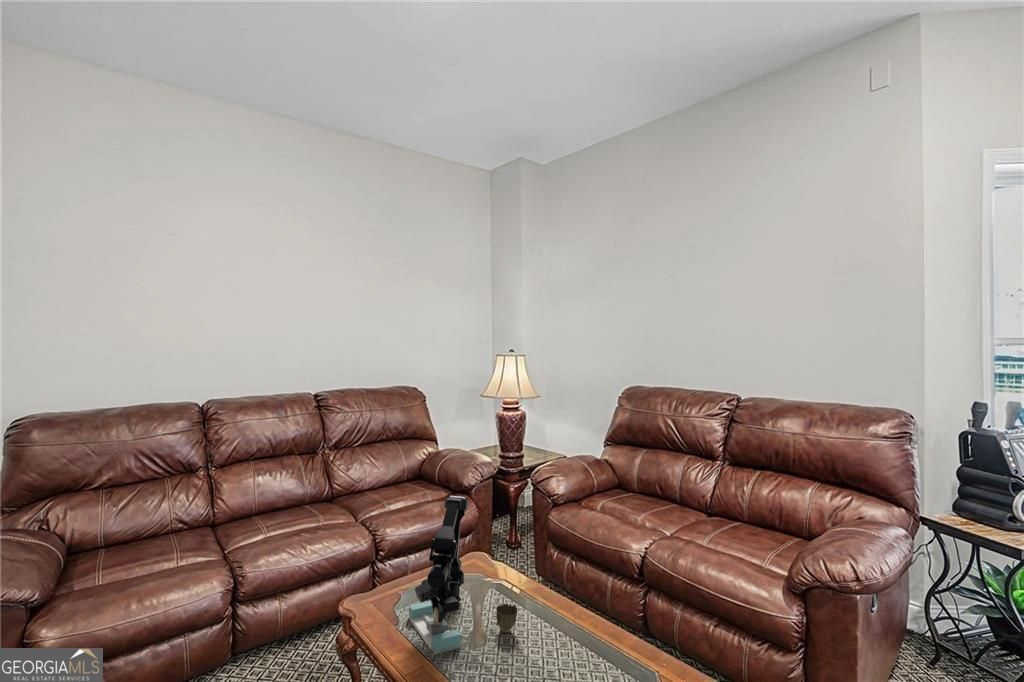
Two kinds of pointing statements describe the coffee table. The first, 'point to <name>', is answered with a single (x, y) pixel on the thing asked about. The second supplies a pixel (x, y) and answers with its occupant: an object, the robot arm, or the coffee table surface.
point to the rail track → (436, 643)
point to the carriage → (437, 624)
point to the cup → (506, 617)
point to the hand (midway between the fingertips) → (437, 619)
